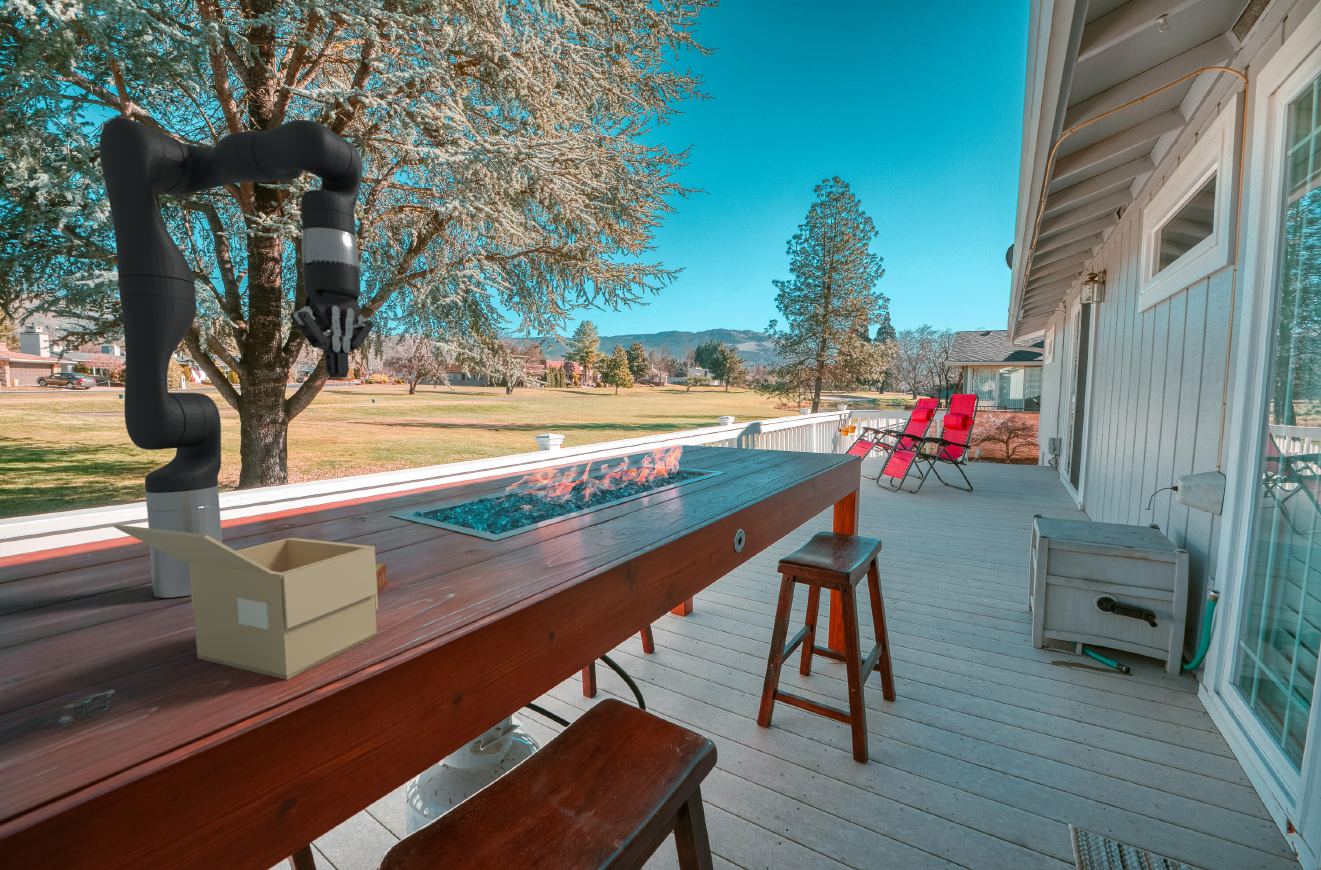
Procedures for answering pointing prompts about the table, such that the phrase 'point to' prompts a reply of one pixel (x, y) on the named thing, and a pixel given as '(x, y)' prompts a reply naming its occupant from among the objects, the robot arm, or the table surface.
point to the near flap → (194, 548)
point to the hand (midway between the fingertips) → (337, 377)
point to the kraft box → (286, 606)
